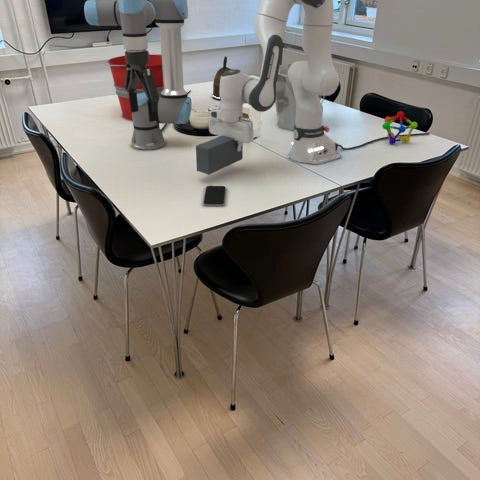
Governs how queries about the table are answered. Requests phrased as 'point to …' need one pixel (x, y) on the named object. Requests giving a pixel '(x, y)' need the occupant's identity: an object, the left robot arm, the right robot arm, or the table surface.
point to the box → (217, 154)
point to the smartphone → (214, 196)
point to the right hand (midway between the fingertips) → (230, 148)
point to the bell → (217, 78)
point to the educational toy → (398, 128)
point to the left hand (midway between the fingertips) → (143, 116)
